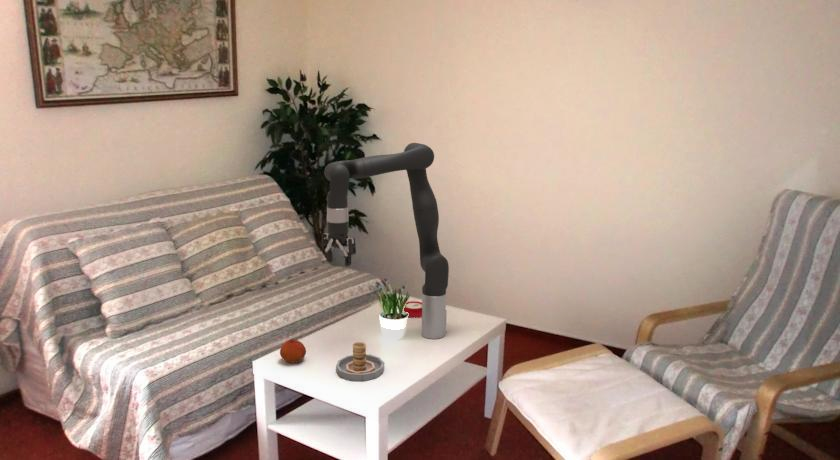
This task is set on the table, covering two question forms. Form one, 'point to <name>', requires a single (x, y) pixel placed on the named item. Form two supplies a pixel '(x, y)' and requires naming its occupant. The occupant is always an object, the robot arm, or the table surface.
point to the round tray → (372, 371)
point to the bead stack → (359, 356)
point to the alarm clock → (414, 309)
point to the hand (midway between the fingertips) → (338, 263)
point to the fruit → (292, 351)
